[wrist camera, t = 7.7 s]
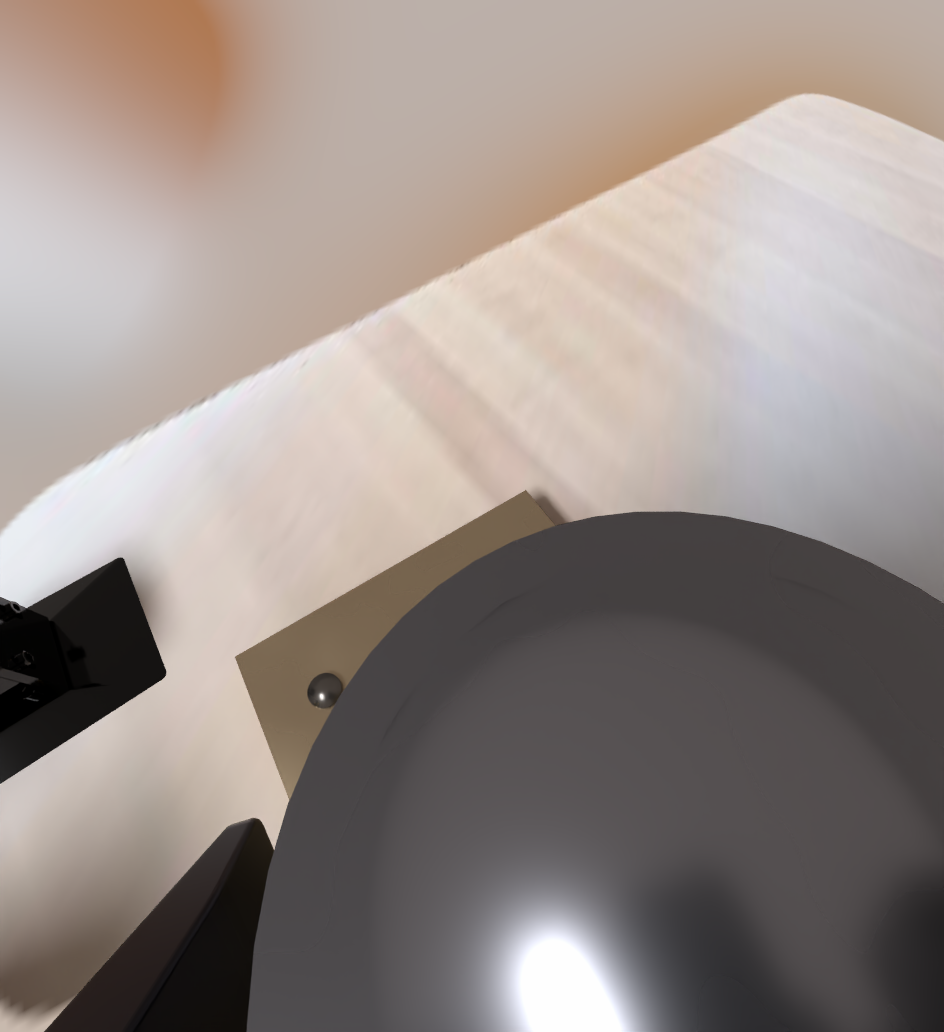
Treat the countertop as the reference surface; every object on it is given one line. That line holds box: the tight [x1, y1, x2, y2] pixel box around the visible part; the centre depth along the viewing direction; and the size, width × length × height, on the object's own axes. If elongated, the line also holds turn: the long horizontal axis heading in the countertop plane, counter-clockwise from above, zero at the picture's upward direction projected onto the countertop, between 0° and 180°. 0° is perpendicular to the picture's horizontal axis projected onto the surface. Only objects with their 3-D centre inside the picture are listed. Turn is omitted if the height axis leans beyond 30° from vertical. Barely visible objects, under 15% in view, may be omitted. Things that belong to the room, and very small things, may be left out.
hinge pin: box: [247, 512, 944, 1032], centre depth 8 cm, size 5×5×13 cm
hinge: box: [235, 490, 555, 800], centre depth 13 cm, size 18×11×2 cm, turn 32°
